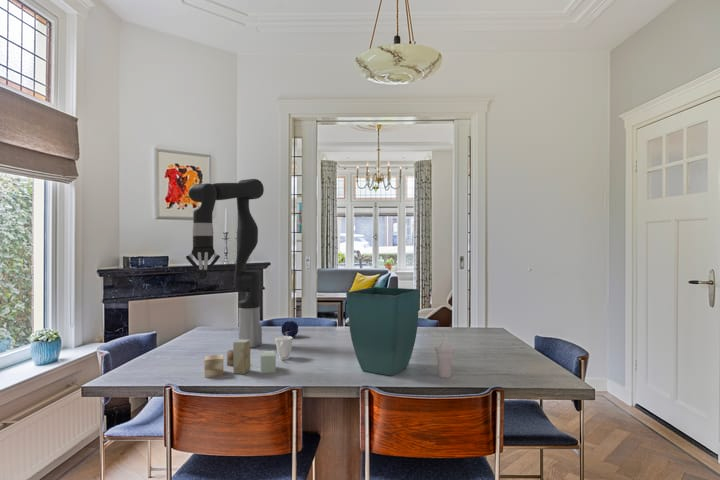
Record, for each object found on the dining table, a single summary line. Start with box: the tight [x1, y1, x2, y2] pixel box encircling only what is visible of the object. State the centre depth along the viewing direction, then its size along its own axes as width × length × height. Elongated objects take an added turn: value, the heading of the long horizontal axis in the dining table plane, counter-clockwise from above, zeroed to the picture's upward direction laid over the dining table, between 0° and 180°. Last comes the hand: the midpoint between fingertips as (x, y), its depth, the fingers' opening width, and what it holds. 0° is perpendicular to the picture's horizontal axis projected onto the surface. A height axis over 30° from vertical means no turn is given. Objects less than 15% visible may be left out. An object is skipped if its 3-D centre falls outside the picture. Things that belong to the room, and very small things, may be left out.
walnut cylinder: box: [226, 349, 233, 367], centre depth 164 cm, size 5×5×5 cm
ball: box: [281, 320, 299, 338], centre depth 210 cm, size 8×8×8 cm
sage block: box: [259, 350, 277, 374], centre depth 156 cm, size 5×7×6 cm
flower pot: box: [345, 286, 421, 376], centre depth 154 cm, size 20×20×28 cm
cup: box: [275, 335, 294, 361], centre depth 170 cm, size 7×10×8 cm
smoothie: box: [434, 333, 455, 379], centre depth 146 cm, size 6×6×14 cm
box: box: [232, 339, 251, 375], centre depth 154 cm, size 5×4×11 cm
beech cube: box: [204, 354, 224, 378], centre depth 152 cm, size 6×6×6 cm
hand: (203, 279), depth 168 cm, fingers closed
